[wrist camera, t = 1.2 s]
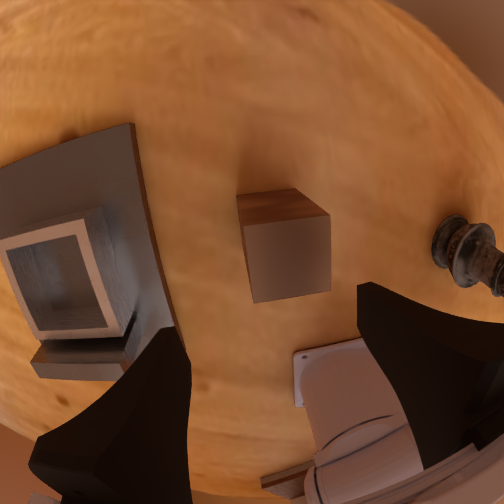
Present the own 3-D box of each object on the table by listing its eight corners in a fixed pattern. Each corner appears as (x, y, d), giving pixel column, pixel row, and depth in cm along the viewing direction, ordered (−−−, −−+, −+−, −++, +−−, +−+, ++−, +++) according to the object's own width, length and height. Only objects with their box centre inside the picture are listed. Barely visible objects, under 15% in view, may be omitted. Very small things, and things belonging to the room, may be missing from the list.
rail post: (295, 188, 20) (330, 215, 13) (298, 243, 21) (331, 290, 15) (236, 195, 20) (243, 226, 13) (243, 251, 21) (253, 303, 15)
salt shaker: (467, 264, 24) (547, 326, 13) (425, 276, 24) (510, 353, 13) (474, 208, 22) (570, 257, 11) (431, 214, 21) (538, 275, 10)
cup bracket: (134, 123, 17) (97, 119, 11) (185, 348, 24) (179, 403, 18) (-9, 174, 16) (-58, 192, 11) (55, 354, 23) (32, 397, 17)
